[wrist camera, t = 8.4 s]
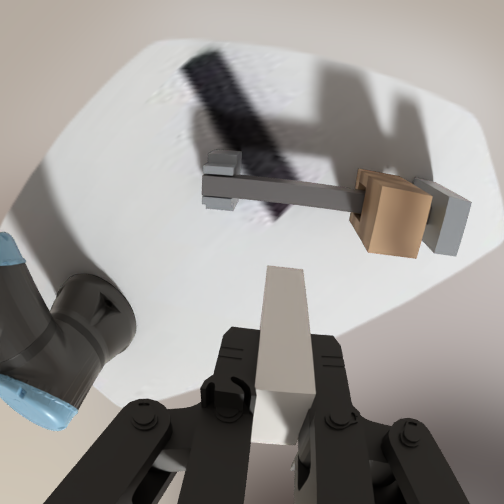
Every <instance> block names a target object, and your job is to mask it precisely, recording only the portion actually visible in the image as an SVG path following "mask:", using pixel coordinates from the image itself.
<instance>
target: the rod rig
mask: <svg viewBox="0 0 504 504" xmlns="http://www.w3.org/2000/svg"><path fill="white" fill-rule="evenodd" d="M241 158H242V151H232V150H218V149H216V150H214V151H212V152H210V153H208V163H207V164H205V165H203V173H205V174H204V175H203V176H202V195H203V196H202V204H205V205H206V209H217V210H227V211H233V210H234V209H235V207H236V205H237V203H238V199H248V200H258V201H267V202H276V203H285V204H293V205H302V206H310V207H317V208H325V209H332V210H340V211H347V212H354V213H360V214H361V213H362V208H363V203H364V197H365V192H366V191H364V190H358V189H352V188H345V187H339V186H332V185H325V184H318V183H310V182H303V181H295V180H286V179H277V178H268V177H259V176H248V175H240V171H241ZM413 185H415V186H417V187H418V188H420V189H422V190H423V191H425V192H427V193H428V194H430V195H431V196H433V197H432V202H431V206H430V210H429V214H428V218H427V222H426V226H425V230H424V234H423V237H422V241H423V242H424V243H425V244H426V245H427V246H428V247H429V248H430V249H431V250H432V251H433V253H436V254H443V255H450V256H456V255H457V252H458V249H459V246H460V242H461V239H462V236H463V232H464V229H465V226H466V222H467V218H468V214H469V211H470V207H471V203H472V202H470V201H469V200H467V199H465V198H463V197H462V196H460V195H458V194H456V193H454V192H453V191H451V190H449V189H447V188H445V187H443V186H441V185H440V184H438V183H436V182H433V181H429V180H425V179H420V178H416V177H415V179H414V184H413Z"/></svg>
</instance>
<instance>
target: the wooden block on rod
mask: <svg viewBox="0 0 504 504" xmlns="http://www.w3.org/2000/svg"><path fill="white" fill-rule="evenodd" d="M355 189H358V190H364V191H366V192H365V197H364V203H363V208H362V213H361V214H360V213H354V212H351V213H350V219H349V221H350V222H351V224H352V226H353V227H354V229H355V231H356V232H357V234H358V236H359V238H360V239H361V241H362V243H363V245H364V246H365V248H366V250H367V252H368V253H376V254H384V255H392V256H400V257H407V258H415V259H416V258H417V255H418V251H419V248H420V244H421V241H422V237H423V234H424V230H425V226H426V222H427V218H428V214H429V210H430V206H431V202H432V197H433V196H431V195H430V194H428V193H427V192H425V191H423V190H422V189H420V188H418V187H417V186H415V185H413V184H412V183H410V182H408V181H407V180H405V179H403V178H401V177H400V176H396V175H391V174H386V173H380V172H375V171H370V170H364V169H358V173H357V179H356V185H355Z"/></svg>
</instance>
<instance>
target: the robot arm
mask: <svg viewBox="0 0 504 504" xmlns="http://www.w3.org/2000/svg"><path fill="white" fill-rule="evenodd" d="M25 263H26V260H25V259H24V258H23V257H22V255H21V253H20V251H19V249H18V247H17V245H16V243H15V241H14V239H13V237H12V236H11V235H10V234H8V233H6V232H0V397H1V398H2V399H3V400H4V401H5V402H6V403H7V404H8V405H9V406H10V407H11V408H12V409H14V410H15V411H16V412H18V413H19V414H20V415H22V416H23V417H25V418H26V419H28V420H29V421H31V422H33V423H35V424H36V425H38V426H41V427H43V428H46V429H48V430H53V431H61V430H63V429H65V428H66V427H67V426H68V424H69V423H70V421H71V420H72V418H73V417H74V415H76V414H77V413H78V409H79V408H80V406H81V404H82V402H83V400H84V399H85V397H86V395H87V393H88V392H89V390H90V388H91V386H92V385H93V383H94V381H95V380H96V378H97V376H98V374H99V373H100V371H101V370H102V368H103V366H104V365H105V364H106V363H107V362H108V361H110V360H111V359H112V358H114V357H115V356H116V355H117V354H120V353H121V352H123V351H124V350H125V349H126V348H127V347H128V346H129V345H130V343H131V341H132V340H133V338H134V336H135V333H136V320H135V316H134V313H133V311H132V309H131V307H130V305H129V304H128V302H127V301H126V299H125V298H124V297H123V296H122V294H121V293H120V292H119V291H118V290H117V289H116V288H114V287H113V286H112V285H111V284H109V283H108V282H106V281H105V280H103V279H101V278H99V277H96V276H94V275H90V274H77V275H74V276H72V277H71V278H69V279H68V280H67V281H66V282H65V283H64V284H63V285H62V286H61V288H60V289H59V291H58V293H57V297H56V299H55V301H54V303H53V305H52V307H51V310H50V311H49V309H48V307H47V306H46V304H45V302H44V300H43V298H42V296H41V294H40V292H39V290H38V289H37V287H36V285H35V283H34V281H33V278H32V276H31V274H30V272H29V270H28V268H27V266H26V264H25ZM200 390H201V402H200V403H198V404H197V405H194V406H192V407H187V408H179V409H166V407H165V406H164V405H162V404H161V403H159V402H158V401H155V400H151V399H138V400H135V401H132V402H130V403H128V404H127V405H126V406H125V407H124V408H123V409H122V410H121V411H120V412H119V414H118V415H117V416H116V417H115V418H114V420H113V421H112V422H111V423H110V424H109V425H108V427H107V428H106V429H105V430H104V431H103V433H102V434H101V435H100V436H99V437H98V439H97V440H96V441H95V442H94V443H93V445H92V446H91V447H90V448H89V449H88V451H87V452H86V453H85V454H84V455H83V457H82V458H81V459H80V460H79V461H78V463H77V464H76V465H75V466H74V467H73V469H72V470H71V471H70V472H69V473H68V475H67V476H66V477H65V478H64V479H63V481H62V482H61V483H60V484H59V485H58V487H57V488H56V489H55V490H54V491H53V493H52V494H51V495H50V496H49V497H48V498H47V500H46V501H45V502H44V503H43V504H158V502H159V500H160V499H161V497H162V496H163V494H164V492H165V491H166V489H167V488H168V486H169V484H170V483H171V481H172V480H173V478H174V476H175V475H176V473H177V471H185V475H184V479H183V483H182V487H181V491H180V495H179V499H178V503H177V504H243V503H244V496H245V487H246V480H247V470H248V462H249V453H250V444H251V442H257V443H268V444H283V445H296V443H297V440H298V453H297V455H296V457H295V459H294V461H293V463H292V466H291V469H290V471H291V470H292V471H293V470H294V469H295V479H294V480H295V481H294V504H469V502H468V500H467V498H466V496H465V494H464V492H463V490H462V488H461V486H460V484H459V483H458V481H457V479H456V477H455V475H454V474H453V472H452V470H451V468H450V466H449V464H448V463H447V461H446V459H445V457H444V456H443V454H442V452H441V450H440V449H439V447H438V445H437V443H436V442H435V440H434V438H433V437H432V435H431V433H430V431H429V430H428V429H427V427H426V426H425V425H424V424H423V423H421V422H419V421H418V420H415V419H411V418H404V419H400V420H398V421H396V422H394V424H393V425H392V426H388V425H384V424H379V423H376V422H372V421H369V420H367V419H365V418H364V417H362V416H361V415H360V412H359V411H358V410H357V409H356V408H355V407H354V406H353V405H352V402H351V397H350V391H349V386H348V380H347V375H346V370H345V365H344V360H343V355H342V350H341V346H340V344H339V343H338V342H337V340H336V339H335V338H334V336H330V335H317V334H310V325H309V316H308V307H307V298H306V289H305V281H304V273H303V269H294V268H285V267H276V266H267V273H266V282H265V290H264V298H263V306H262V314H261V323H260V330H256V329H247V328H239V327H231V328H230V329H229V330H228V331H227V332H226V333H225V334H224V335H223V339H222V343H221V347H220V351H219V355H218V358H217V362H216V366H215V370H214V374H213V375H212V376H210V377H209V378H208V379H206V380H205V381H204V383H203V384H202V386H201V388H200Z"/></svg>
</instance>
